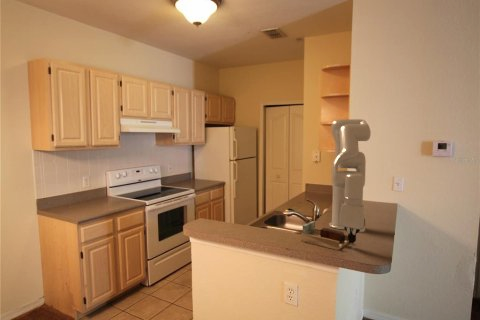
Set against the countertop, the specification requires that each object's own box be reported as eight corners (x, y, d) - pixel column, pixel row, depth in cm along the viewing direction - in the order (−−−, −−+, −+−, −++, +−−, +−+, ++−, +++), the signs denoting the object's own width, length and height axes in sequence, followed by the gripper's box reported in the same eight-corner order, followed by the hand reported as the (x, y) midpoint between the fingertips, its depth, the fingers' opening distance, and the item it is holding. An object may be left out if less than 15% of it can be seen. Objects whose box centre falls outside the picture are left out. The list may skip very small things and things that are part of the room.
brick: (319, 238, 139) (320, 229, 138) (323, 236, 142) (323, 227, 141) (341, 244, 132) (342, 233, 131) (345, 242, 135) (345, 232, 134)
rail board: (313, 234, 149) (313, 220, 148) (348, 242, 137) (349, 227, 137) (300, 240, 139) (301, 226, 138) (338, 250, 127) (338, 233, 127)
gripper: (333, 200, 131) (332, 240, 132) (368, 205, 121) (366, 248, 122) (339, 198, 137) (338, 236, 138) (373, 202, 127) (371, 244, 128)
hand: (351, 242), depth 130 cm, fingers closed
